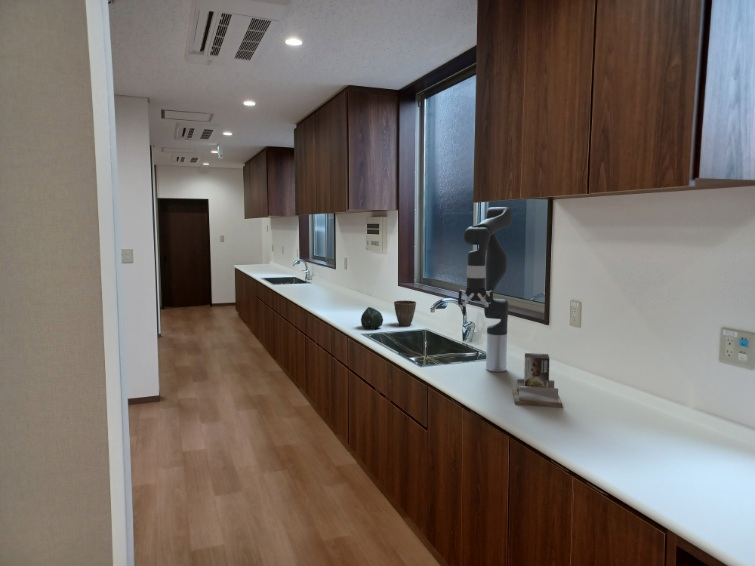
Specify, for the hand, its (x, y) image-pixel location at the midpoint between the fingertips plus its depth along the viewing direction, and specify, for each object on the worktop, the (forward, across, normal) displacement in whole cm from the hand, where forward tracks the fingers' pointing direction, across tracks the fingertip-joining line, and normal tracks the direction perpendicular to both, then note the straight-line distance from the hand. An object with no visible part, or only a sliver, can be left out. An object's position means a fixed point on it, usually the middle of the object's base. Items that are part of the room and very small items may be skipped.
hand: (475, 315), depth 215 cm
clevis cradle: (+30, -24, +13) cm, 41 cm away
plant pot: (+30, +47, -127) cm, 139 cm away
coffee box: (+29, -24, +13) cm, 39 cm away
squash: (+30, +67, -114) cm, 136 cm away
